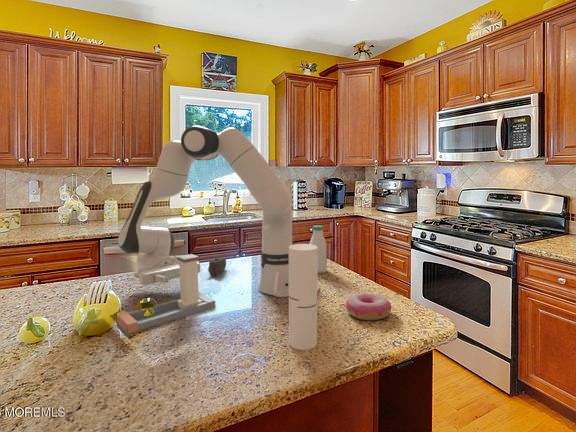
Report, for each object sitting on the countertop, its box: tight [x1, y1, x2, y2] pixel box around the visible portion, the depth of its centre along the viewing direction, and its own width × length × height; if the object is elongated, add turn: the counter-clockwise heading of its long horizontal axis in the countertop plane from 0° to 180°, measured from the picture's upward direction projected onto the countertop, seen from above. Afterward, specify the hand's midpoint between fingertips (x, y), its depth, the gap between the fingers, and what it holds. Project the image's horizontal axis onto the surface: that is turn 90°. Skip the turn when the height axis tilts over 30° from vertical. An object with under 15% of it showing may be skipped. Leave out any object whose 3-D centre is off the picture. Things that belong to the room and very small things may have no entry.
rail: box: [115, 292, 216, 340], centre depth 101 cm, size 26×10×4 cm, turn 133°
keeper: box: [177, 253, 202, 309], centre depth 105 cm, size 6×6×16 cm
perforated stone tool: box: [207, 256, 227, 277], centre depth 146 cm, size 15×5×7 cm, turn 168°
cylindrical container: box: [288, 243, 318, 351], centre depth 85 cm, size 7×7×25 cm
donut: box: [345, 292, 392, 321], centre depth 104 cm, size 14×13×5 cm
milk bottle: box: [309, 224, 328, 274], centre depth 148 cm, size 8×8×20 cm
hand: (180, 276), depth 109 cm, fingers open, 8 cm apart
